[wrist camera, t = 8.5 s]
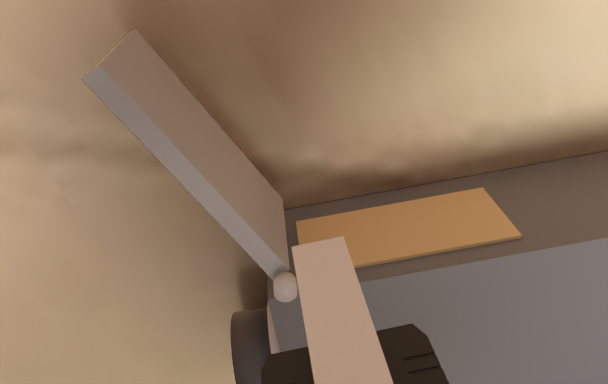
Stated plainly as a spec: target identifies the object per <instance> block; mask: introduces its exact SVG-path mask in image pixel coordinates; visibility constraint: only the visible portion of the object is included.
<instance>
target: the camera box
mask: <svg viewBox="0 0 608 384" xmlns="http://www.w3.org/2000/svg"><path fill="white" fill-rule="evenodd" d="M284 218H285V228H286V238H287V247H288V257H289V267H290V270H289V271H287V272H281V273H279V274H277V275H276V276H275V277H274V280H272V279H271V278H270V277H269V276H268V275H267V290H268V302H267V307H261V308H256V309H251V310H245V311H240V312H234V313H233V315H232V319H231V349H232V359H233V367H234V374H235V380H236V384H261V370H262V368H263V366H264V364H265V362H266V359H267V357H268V355H270V354H275V353H279V352H284V351H289V350H294V349H298V348H303V347H308V342H307V337H306V331H305V325H304V319H303V313H302V307H301V301H300V295H299V289H298V283H297V277H296V271H295V265H294V260H293V254H292V248H291V247H293V246H297V245H302V244H307V243H312V242H317V241H322V240H327V239H332V238H336V237H341V236H343V237H344V239H345V242H346V245H347V248H348V251H349V254H350V257H351V260H352V263H353V266H354V269H355V272H356V275H357V278H358V281H359V284H360V286H361V289H362V292H363V295H364V298H365V301H366V304H367V307H368V310H369V313H370V316H371V319H372V322H373V325H374V328H375V331H378V330H383V329H388V328H392V327H397V326H402V325H407V324H411V323H412V324H414V325H415V326H416V327H417V328H418V329H420V330H421V331H422V332H423V333H425V334H426V335H427V336H428V339H429V341H430V343H431V345H432V347H433V349H434V352H435V355H436V356H437V358H438V360H439V362H440V365H441V368H442V369H443V371H444V373H445V375H446V378H447V380H448V382H449V384H608V151H604V152H599V153H593V154H588V155H582V156H577V157H572V158H566V159H561V160H555V161H550V162H544V163H539V164H533V165H528V166H522V167H517V168H512V169H506V170H501V171H495V172H490V173H484V174H479V175H473V176H468V177H462V178H457V179H452V180H446V181H441V182H435V183H430V184H424V185H419V186H413V187H408V188H402V189H397V190H391V191H386V192H381V193H375V194H370V195H364V196H359V197H353V198H348V199H342V200H337V201H331V202H326V203H321V204H315V205H310V206H304V207H299V208H293V209H288V210H284Z"/></svg>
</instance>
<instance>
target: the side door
mask: <svg viewBox="0 0 608 384" xmlns="http://www.w3.org/2000/svg"><path fill="white" fill-rule="evenodd" d="M81 80H82V81H83V82H84V83H85V84H86V85H87V86H88V87H89V88H90V89H91V90H92V91H93V92H94V93H95V94H96V95H97V96H98V97H99V98H100V99H101V101H102V102H103V103H104V104H105V105H106V106H107V107H108V108H109V109H110V110H111V111H112V112H113V113H114V114H115V115H116V116H117V117H118V118H119V119H120V120H121V122H122V123H123V124H124V125H125V126H126V127H127V128H128V129H129V130H130V131H131V132H132V133H133V134H134V135H135V136H136V137H137V138H138V139H139V140H140V141H141V142H142V144H143V145H144V146H145V147H146V148H147V149H148V150H149V151H150V152H151V153H152V154H153V155H154V156H155V157H156V158H157V159H158V160H159V161H160V162H161V163H162V165H163V166H164V167H165V168H166V169H167V170H168V171H169V172H170V173H171V174H172V175H173V176H174V177H175V178H176V179H177V180H178V181H179V182H180V183H181V184H182V186H183V187H184V188H185V189H186V190H187V191H188V192H189V193H190V194H191V195H192V196H193V197H194V198H195V199H196V200H197V201H198V202H199V203H200V204H201V205H202V206H203V208H204V209H205V210H206V211H207V212H208V213H209V214H210V215H211V216H212V217H213V218H214V219H215V220H216V221H217V222H218V223H219V224H220V225H221V226H222V227H223V229H224V230H225V231H226V232H227V233H228V234H229V235H230V236H231V237H232V238H233V239H234V240H235V241H236V242H237V243H238V244H239V245H240V246H241V247H242V248H243V249H244V251H245V252H246V253H247V254H248V255H249V256H250V257H251V258H252V259H253V260H254V261H255V262H256V263H257V264H258V265H259V266H260V267H261V268H262V269H263V270H264V272H265V273H266V274H267V275H268V276H269V277H270V278H271V279H272V280H274V277H275V276H276V275H277V274H279V273H281V272H287V271H289V270H290V267H289V257H288V247H287V238H286V228H285V218H284V208H283V199H282V197H281V196H280V195H279V194H278V193H277V192H276V191H275V189H274V188H273V187H272V186H271V185H270V184H269V182H268V181H267V180H266V179H265V178H264V177H263V175H262V174H261V173H260V172H259V171H258V170H257V169H256V167H255V166H254V165H253V164H252V163H251V162H250V160H249V159H248V158H247V157H246V156H245V155H244V153H243V152H242V151H241V150H240V149H239V148H238V147H237V145H236V144H235V143H234V142H233V141H232V140H231V138H230V137H229V136H228V135H227V134H226V133H225V131H224V130H223V129H222V128H221V127H220V126H219V125H218V123H217V122H216V121H215V120H214V119H213V118H212V116H211V115H210V114H209V113H208V112H207V111H206V110H205V108H204V107H203V106H202V105H201V104H200V103H199V101H198V100H197V99H196V98H195V97H194V96H193V94H192V93H191V92H190V91H189V90H188V89H187V88H186V86H185V85H184V84H183V83H182V82H181V81H180V79H179V78H178V77H177V76H176V75H175V74H174V72H173V71H172V70H171V69H170V68H169V67H168V66H167V64H166V63H165V62H164V61H163V60H162V59H161V57H160V56H159V55H158V54H157V53H156V52H155V50H154V49H153V48H152V47H151V46H150V45H149V44H148V42H147V41H146V40H145V39H144V38H143V37H142V35H141V34H140V33H139V32H138V31H137V30H136V29H133V30H132V31H131V32H130V33H129V34H127V35H126V36H125V37H124V38H123V39H121V40H120V41H119V42H118V43H117V44H116V45H115V46H114V47H113V48H112V49H111V50H110V51H109V52H108V53H107V54H106V55H105V56H104V57H103V58H102V59H101V60H100V61H99V62H98V63H97V64H96V65H95V66H94V67H93V68H92V69H91V70H90V71H89V72H88V73H87V74H86V75H85V76H84V77H83V78H82V79H81Z"/></svg>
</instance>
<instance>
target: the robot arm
mask: <svg viewBox="0 0 608 384" xmlns="http://www.w3.org/2000/svg"><path fill="white" fill-rule="evenodd" d="M291 248H292V254H293V260H294V265H295V271H296V277H297V283H298V289H299V295H300V301H301V307H302V313H303V319H304V325H305V331H306V337H307V342H308V347H303V348H298V349H294V350H289V351H284V352H279V353H275V354H270V355H268V357H267V359H266V362H265V364H264V366H263V368H262V370H261V384H449V382H448V380H447V378H446V375H445V373H444V371H443V369H442V368H441V365H440V362H439V360H438V358H437V356H436V355H435V352H434V349H433V347H432V345H431V343H430V341H429V339H428V336H427V335H426V334H425V333H423V332H422V331H421V330H420V329H418V328H417V327H416V326H415V325H414V324H412V323H411V324H407V325H402V326H397V327H392V328H388V329H383V330H378V331H375V328H374V325H373V322H372V319H371V316H370V313H369V310H368V307H367V304H366V301H365V298H364V295H363V292H362V289H361V286H360V284H359V281H358V278H357V275H356V272H355V269H354V266H353V263H352V260H351V257H350V254H349V251H348V248H347V245H346V242H345V239H344V237H343V236H341V237H336V238H332V239H327V240H322V241H317V242H312V243H307V244H302V245H297V246H293V247H291Z"/></svg>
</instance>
